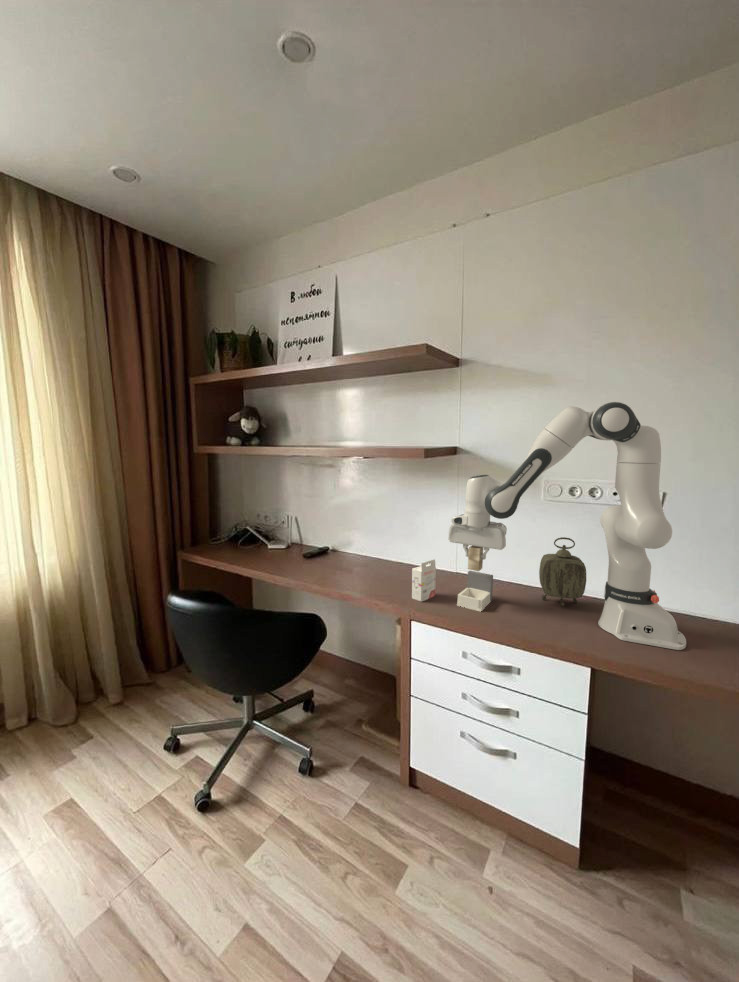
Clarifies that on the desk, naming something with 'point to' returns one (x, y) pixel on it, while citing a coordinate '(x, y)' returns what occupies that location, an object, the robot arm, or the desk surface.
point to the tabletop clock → (562, 574)
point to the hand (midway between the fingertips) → (475, 557)
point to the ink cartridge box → (424, 581)
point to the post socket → (476, 591)
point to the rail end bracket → (475, 558)
